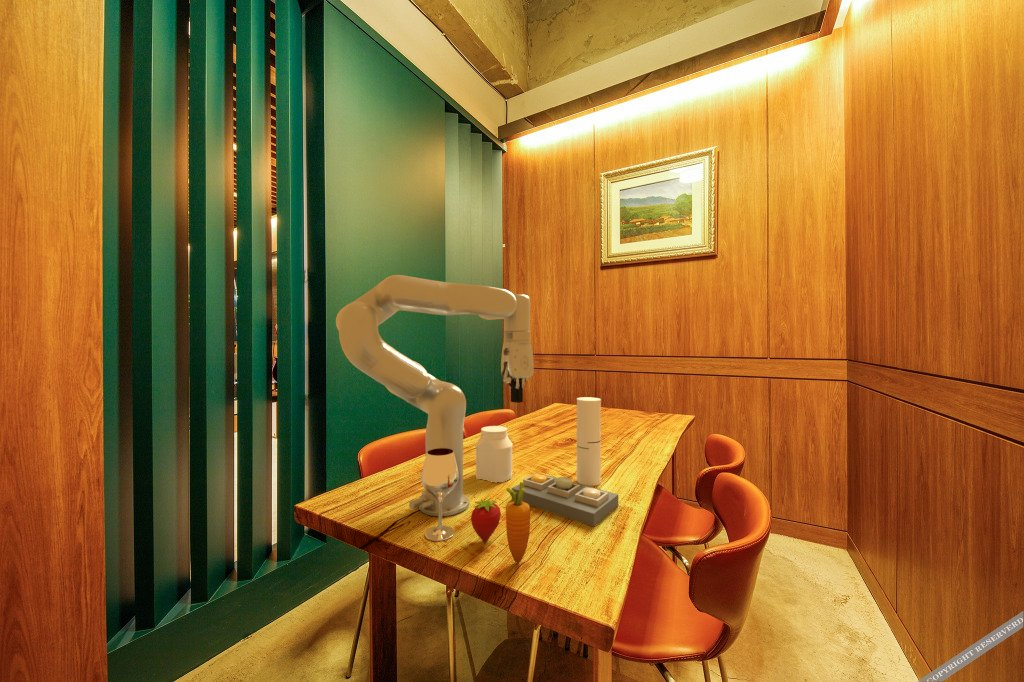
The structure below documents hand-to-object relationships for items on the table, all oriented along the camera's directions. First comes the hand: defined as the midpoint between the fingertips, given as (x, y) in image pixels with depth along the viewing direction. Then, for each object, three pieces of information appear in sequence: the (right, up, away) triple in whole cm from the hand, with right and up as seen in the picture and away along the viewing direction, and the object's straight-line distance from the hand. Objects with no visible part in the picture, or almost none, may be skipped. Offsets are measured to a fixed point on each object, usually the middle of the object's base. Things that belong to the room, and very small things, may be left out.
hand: (516, 401), depth 107 cm
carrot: (0, -25, -36) cm, 44 cm away
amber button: (+6, -22, -4) cm, 23 cm away
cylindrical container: (+22, -25, +7) cm, 34 cm away
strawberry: (-7, -25, -28) cm, 38 cm away
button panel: (+12, -25, -9) cm, 29 cm away
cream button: (+19, -22, -14) cm, 32 cm away
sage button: (+12, -21, -9) cm, 26 cm away
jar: (-7, -25, +10) cm, 28 cm away
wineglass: (-17, -25, -25) cm, 39 cm away
